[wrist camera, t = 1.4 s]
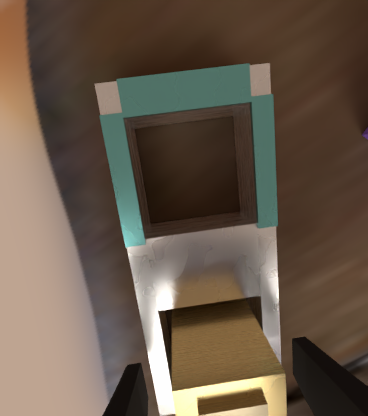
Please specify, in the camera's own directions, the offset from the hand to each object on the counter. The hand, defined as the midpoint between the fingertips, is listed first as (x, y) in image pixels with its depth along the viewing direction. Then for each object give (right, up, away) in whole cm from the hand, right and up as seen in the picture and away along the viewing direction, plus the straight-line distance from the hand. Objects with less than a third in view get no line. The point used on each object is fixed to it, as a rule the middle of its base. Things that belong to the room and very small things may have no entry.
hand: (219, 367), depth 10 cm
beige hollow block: (0, +1, +4) cm, 4 cm away
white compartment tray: (-1, +5, +3) cm, 6 cm away
